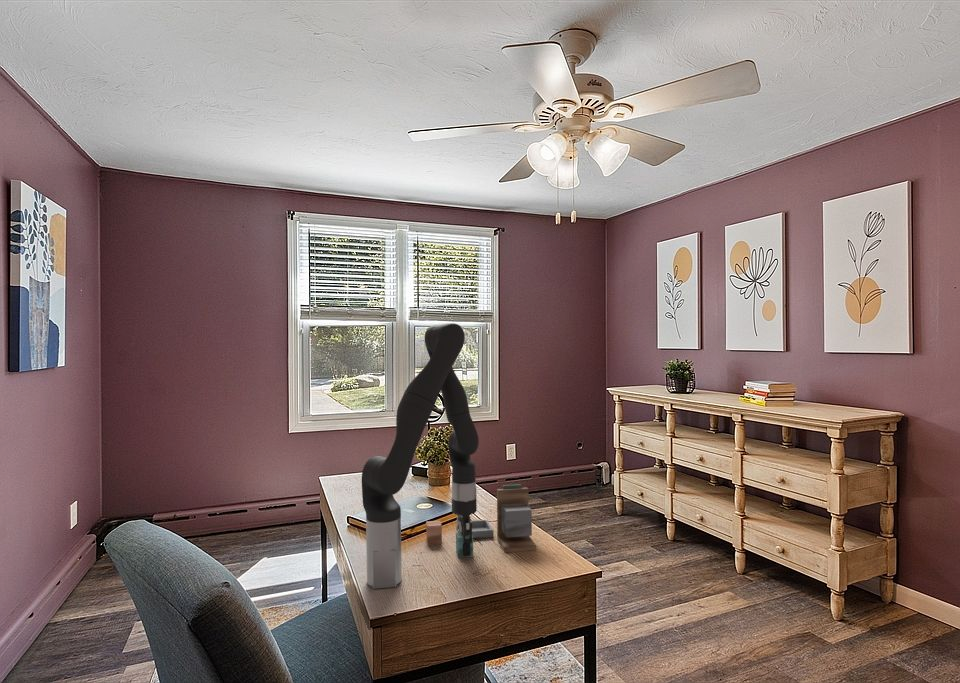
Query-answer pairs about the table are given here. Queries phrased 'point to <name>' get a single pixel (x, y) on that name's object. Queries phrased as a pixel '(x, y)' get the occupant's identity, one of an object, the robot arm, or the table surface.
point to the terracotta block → (433, 532)
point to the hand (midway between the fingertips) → (464, 550)
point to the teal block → (460, 545)
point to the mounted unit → (514, 519)
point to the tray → (481, 529)
